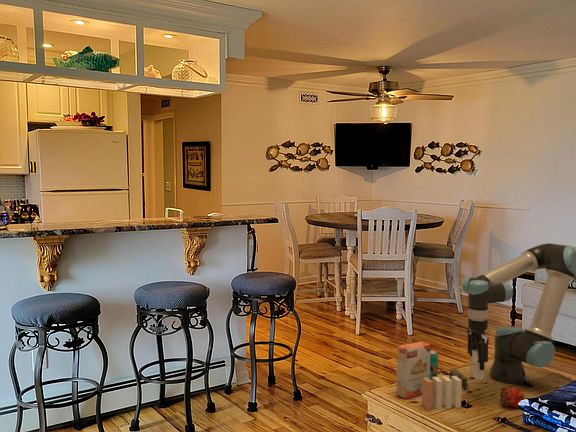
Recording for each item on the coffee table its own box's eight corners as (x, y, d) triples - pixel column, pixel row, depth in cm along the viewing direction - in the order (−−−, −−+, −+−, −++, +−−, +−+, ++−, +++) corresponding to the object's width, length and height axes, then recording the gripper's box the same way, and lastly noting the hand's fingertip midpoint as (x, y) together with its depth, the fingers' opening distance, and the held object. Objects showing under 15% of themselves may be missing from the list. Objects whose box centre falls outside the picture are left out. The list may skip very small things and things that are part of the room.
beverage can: (429, 389, 233) (430, 354, 232) (420, 384, 238) (421, 350, 237) (440, 387, 236) (441, 352, 235) (430, 382, 241) (431, 349, 240)
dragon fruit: (498, 411, 215) (519, 411, 220) (514, 405, 208) (535, 405, 214) (490, 390, 219) (512, 389, 224) (506, 383, 213) (527, 383, 218)
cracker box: (406, 400, 221) (407, 349, 220) (395, 395, 226) (396, 345, 225) (430, 393, 229) (431, 344, 227) (419, 388, 234) (420, 340, 232)
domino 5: (476, 375, 226) (476, 349, 226) (482, 379, 222) (482, 353, 221) (471, 375, 226) (472, 349, 225) (477, 380, 221) (478, 353, 220)
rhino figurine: (462, 392, 231) (463, 378, 230) (447, 380, 244) (447, 367, 244) (471, 391, 232) (472, 377, 231) (455, 379, 245) (456, 366, 245)
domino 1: (426, 404, 217) (427, 377, 217) (431, 409, 212) (432, 381, 212) (421, 404, 217) (422, 377, 216) (426, 409, 212) (427, 382, 211)
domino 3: (445, 403, 219) (446, 376, 218) (451, 408, 214) (452, 380, 213) (440, 403, 218) (441, 376, 218) (446, 408, 213) (447, 381, 213)
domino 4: (455, 402, 219) (455, 375, 218) (460, 407, 214) (461, 380, 213) (450, 403, 219) (451, 376, 218) (456, 408, 214) (456, 380, 213)
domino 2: (436, 403, 218) (436, 376, 217) (441, 408, 213) (442, 381, 212) (431, 404, 218) (432, 376, 217) (436, 409, 213) (437, 381, 212)
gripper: (459, 313, 230) (458, 367, 232) (480, 325, 213) (479, 383, 214) (475, 312, 232) (475, 366, 233) (498, 324, 214) (497, 382, 215)
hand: (477, 374), depth 224 cm, fingers closed on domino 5, 5 cm apart
